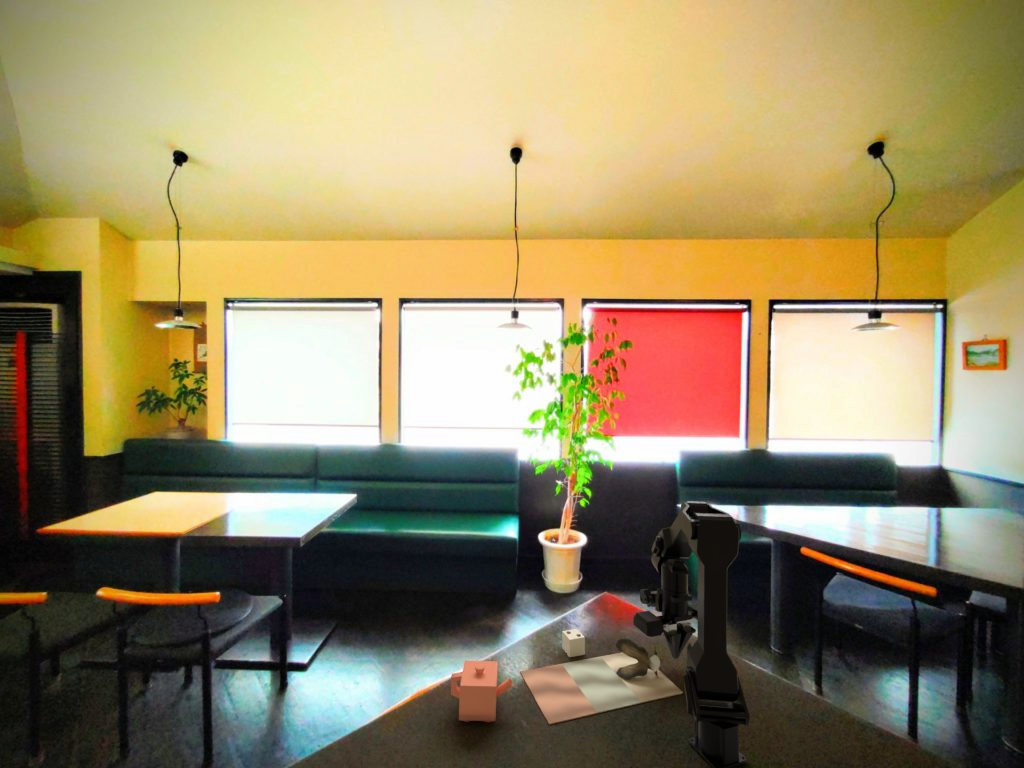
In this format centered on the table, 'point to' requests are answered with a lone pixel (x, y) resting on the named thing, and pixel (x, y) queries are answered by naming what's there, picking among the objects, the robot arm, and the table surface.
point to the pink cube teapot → (478, 690)
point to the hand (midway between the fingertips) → (675, 657)
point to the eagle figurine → (640, 655)
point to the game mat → (593, 687)
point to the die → (573, 642)
